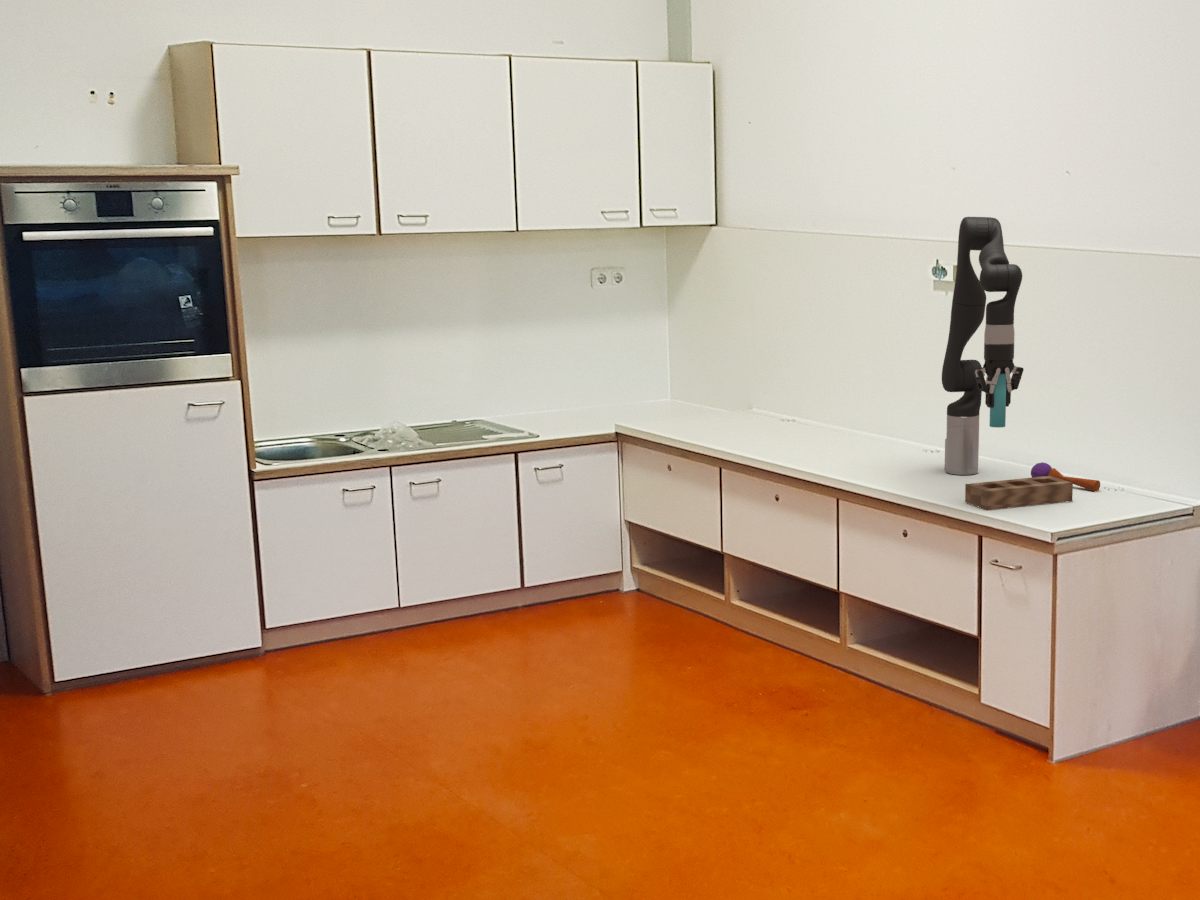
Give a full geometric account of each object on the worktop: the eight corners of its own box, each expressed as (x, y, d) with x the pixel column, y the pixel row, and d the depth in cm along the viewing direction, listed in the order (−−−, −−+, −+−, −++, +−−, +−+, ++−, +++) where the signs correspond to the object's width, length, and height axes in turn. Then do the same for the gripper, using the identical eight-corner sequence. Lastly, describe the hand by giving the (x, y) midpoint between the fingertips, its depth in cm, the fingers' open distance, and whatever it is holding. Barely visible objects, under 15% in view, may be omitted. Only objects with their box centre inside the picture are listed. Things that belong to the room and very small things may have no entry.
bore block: (986, 510, 346) (986, 491, 345) (965, 502, 355) (965, 484, 354) (1072, 501, 353) (1072, 482, 352) (1049, 493, 363) (1049, 475, 362)
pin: (986, 425, 354) (987, 373, 351) (999, 424, 355) (1001, 372, 352) (994, 427, 350) (996, 374, 347) (1008, 426, 351) (1009, 373, 348)
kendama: (1090, 479, 361) (1026, 464, 376) (1090, 500, 363) (1026, 484, 378) (1103, 472, 365) (1038, 457, 380) (1102, 492, 367) (1039, 477, 382)
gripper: (1015, 339, 354) (1013, 403, 357) (967, 341, 350) (966, 406, 353) (1031, 341, 347) (1029, 406, 350) (982, 344, 343) (981, 410, 346)
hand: (997, 406), depth 351 cm, fingers closed on pin, 4 cm apart
